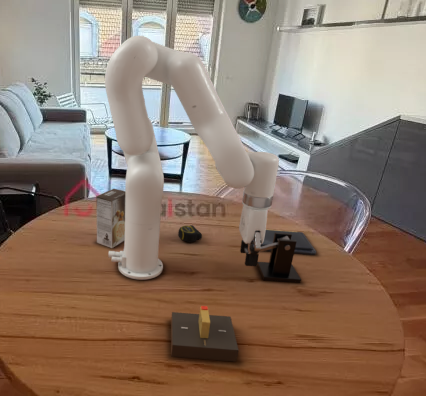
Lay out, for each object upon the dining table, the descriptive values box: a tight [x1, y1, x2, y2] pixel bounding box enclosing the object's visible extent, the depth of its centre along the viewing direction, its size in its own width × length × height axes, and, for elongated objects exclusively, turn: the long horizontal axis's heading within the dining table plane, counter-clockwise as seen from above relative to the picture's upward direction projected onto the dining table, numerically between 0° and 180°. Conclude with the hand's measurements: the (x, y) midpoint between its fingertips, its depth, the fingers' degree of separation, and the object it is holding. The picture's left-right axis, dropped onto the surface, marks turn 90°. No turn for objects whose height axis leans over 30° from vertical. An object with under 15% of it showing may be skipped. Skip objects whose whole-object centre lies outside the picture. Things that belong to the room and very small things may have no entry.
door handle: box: [244, 236, 290, 254], centre depth 101 cm, size 12×6×2 cm, turn 87°
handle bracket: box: [256, 232, 302, 284], centre depth 102 cm, size 10×8×12 cm
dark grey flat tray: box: [252, 228, 317, 256], centre depth 122 cm, size 20×2×15 cm
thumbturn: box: [198, 305, 210, 338], centre depth 76 cm, size 5×2×4 cm, turn 176°
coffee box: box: [95, 188, 125, 249], centre depth 115 cm, size 9×6×16 cm
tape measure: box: [177, 225, 203, 243], centre depth 120 cm, size 7×7×4 cm
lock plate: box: [170, 311, 239, 363], centre depth 77 cm, size 13×10×3 cm
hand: (248, 258), depth 103 cm, fingers closed on door handle, 6 cm apart
